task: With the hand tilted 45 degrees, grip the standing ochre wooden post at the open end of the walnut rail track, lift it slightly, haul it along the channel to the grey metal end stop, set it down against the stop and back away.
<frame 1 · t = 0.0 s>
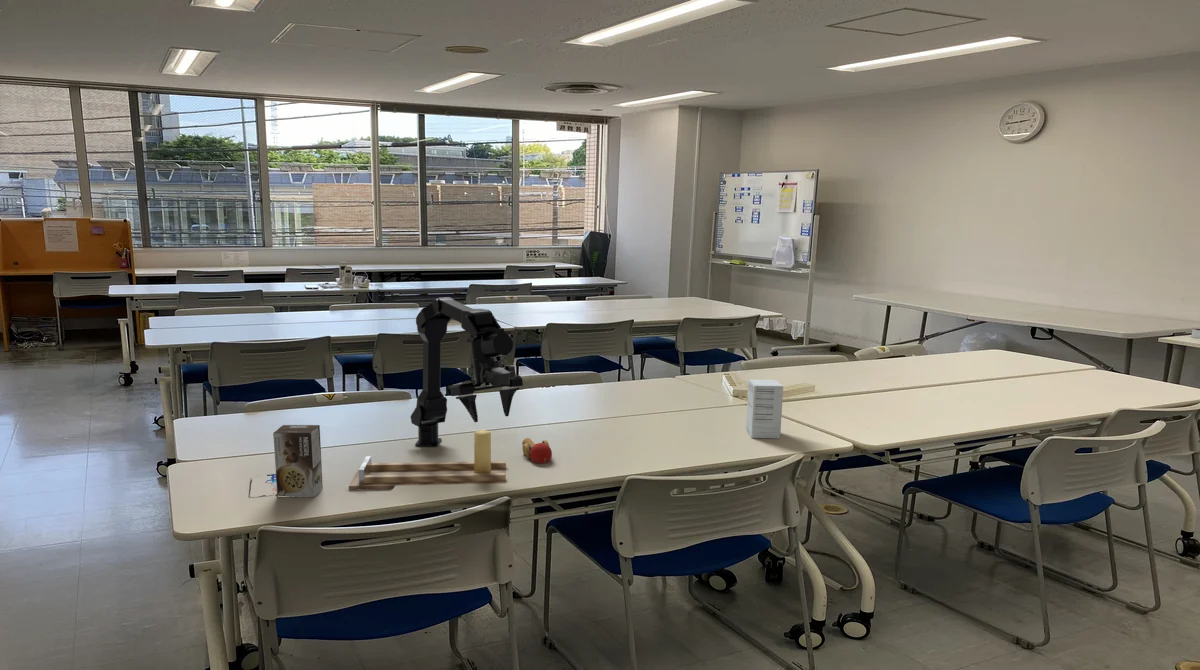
hand: (491, 419, 193), 15 cm above the table, tool pointing down, fingers open, 9 cm apart
track: (431, 478, 193), on the table
kendama: (534, 458, 212), on the table
smartphone: (266, 487, 186), on the table
coffee box: (300, 493, 182), on the table
stop: (365, 479, 191), resting on track
supplement box: (762, 434, 239), on the table
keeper: (482, 473, 194), point 1 cm above the table, touching track
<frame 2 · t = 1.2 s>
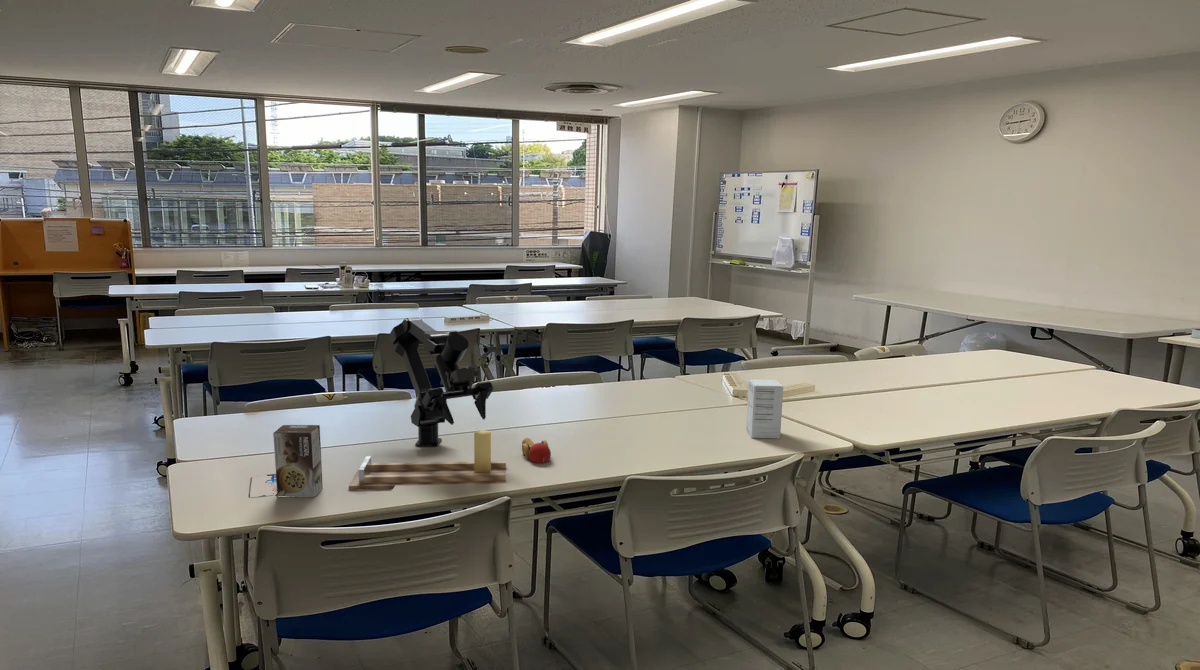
hand: (468, 421, 198), 13 cm above the table, tool tilted 45°, fingers open, 9 cm apart
nothing on the table moved.
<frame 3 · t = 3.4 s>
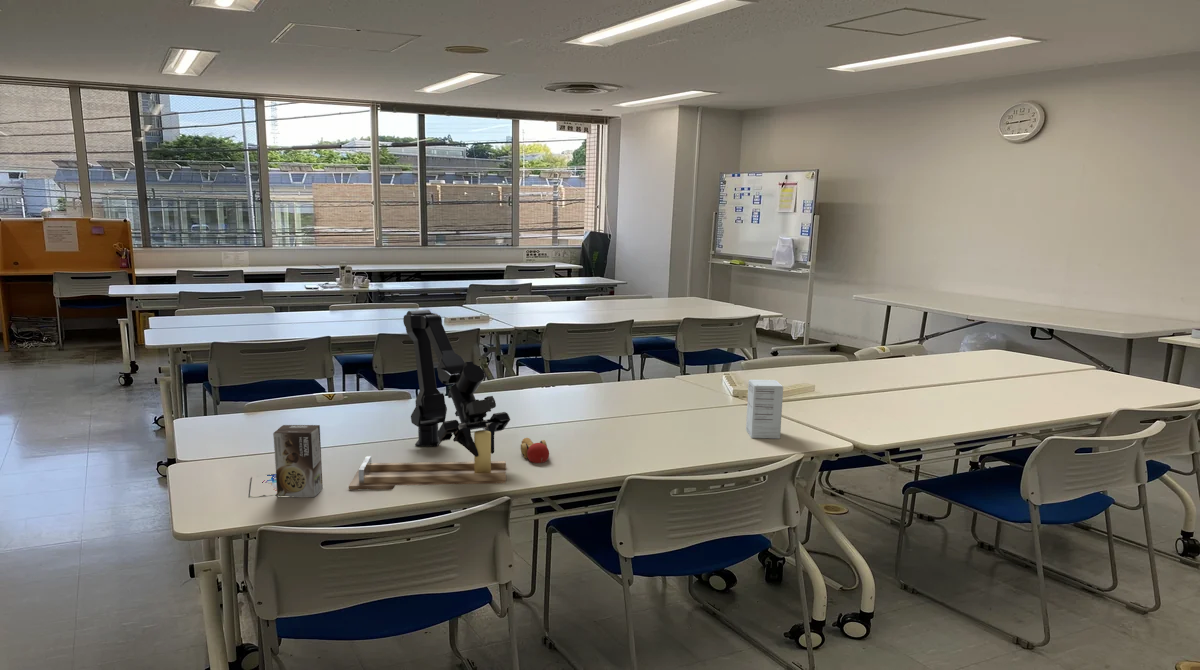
hand: (485, 454, 192), 7 cm above the table, tool tilted 45°, fingers closed on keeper, 4 cm apart
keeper: (482, 473, 194), point 1 cm above the table, touching gripper, track
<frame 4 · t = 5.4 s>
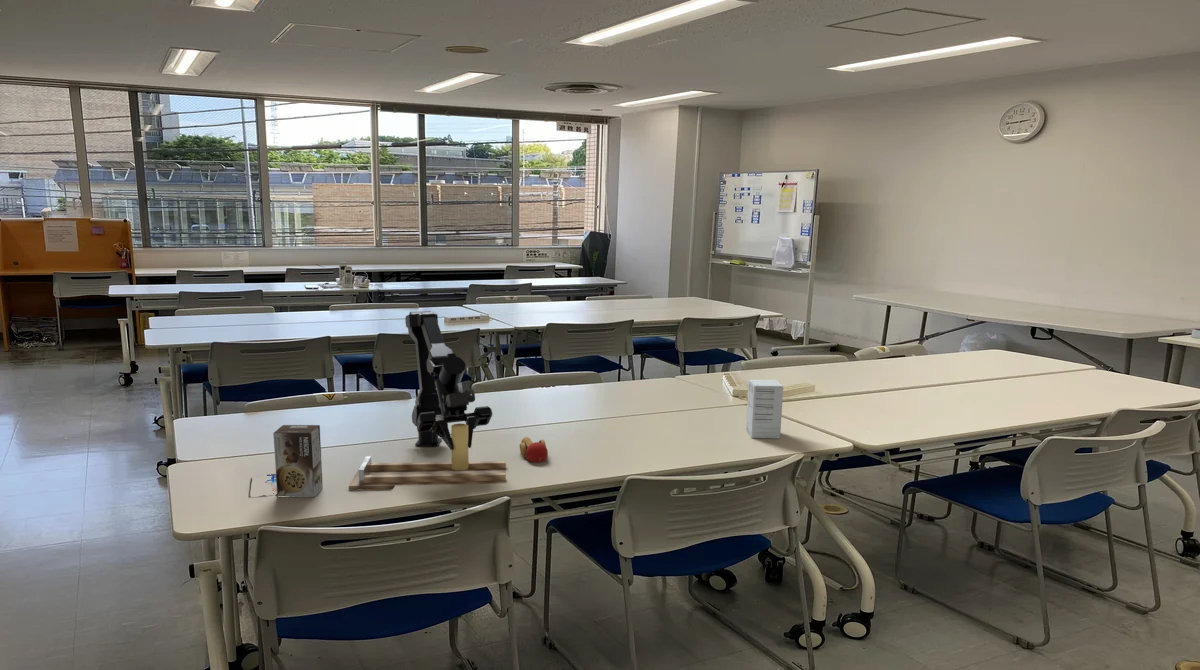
hand: (461, 448, 189), 9 cm above the table, tool tilted 45°, fingers closed on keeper, 4 cm apart
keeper: (460, 467, 192), point 3 cm above the table, touching gripper
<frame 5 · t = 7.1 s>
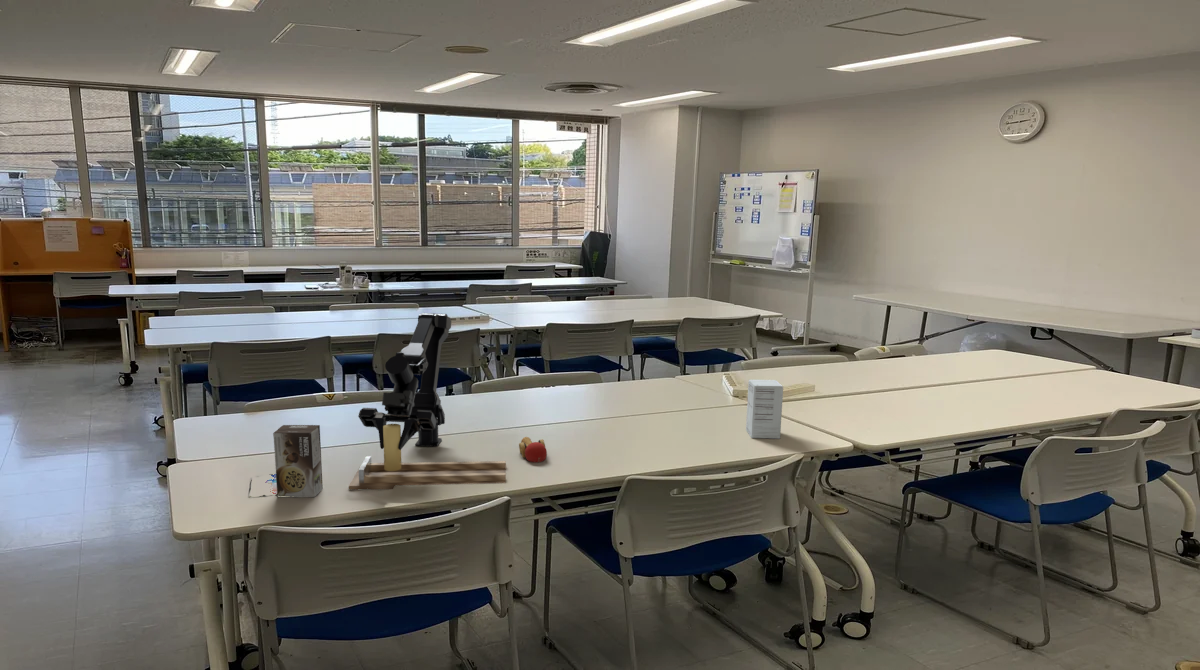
hand: (390, 448, 188), 9 cm above the table, tool tilted 45°, fingers closed on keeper, 4 cm apart
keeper: (392, 468, 190), point 3 cm above the table, touching gripper
when the fingers open (7 cm above the table, at t = 8.6 s): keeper stays where it is, resting on track.
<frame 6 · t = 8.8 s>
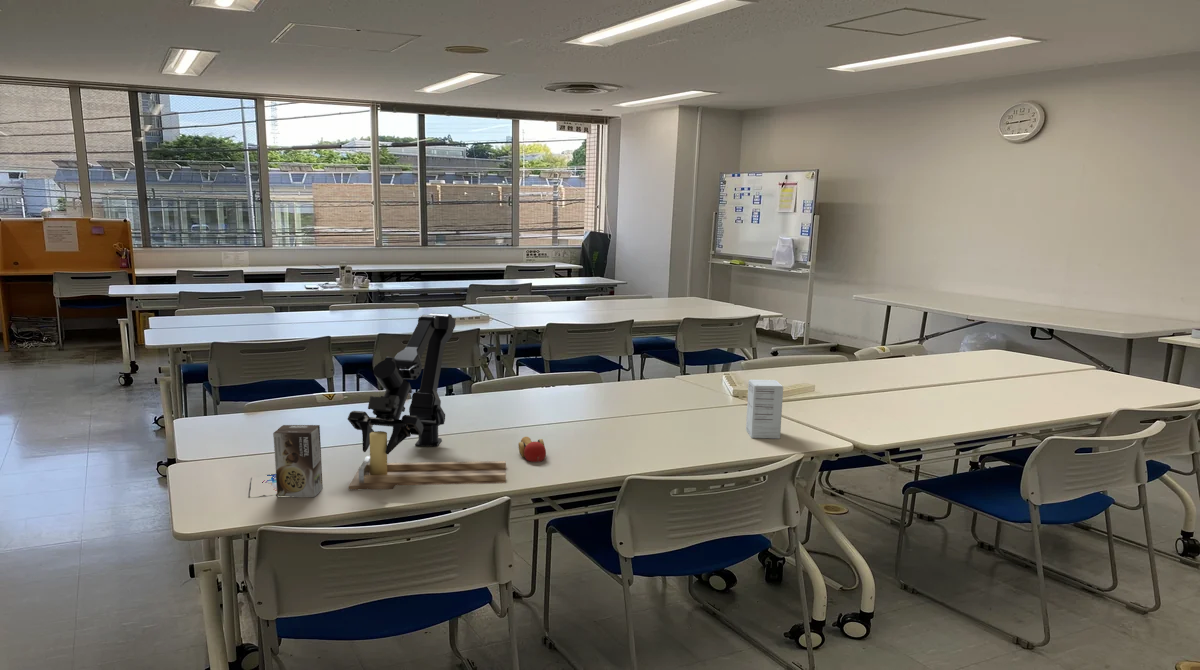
hand: (375, 452, 189), 8 cm above the table, tool tilted 45°, fingers open, 6 cm apart
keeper: (378, 475, 191), point 1 cm above the table, touching track
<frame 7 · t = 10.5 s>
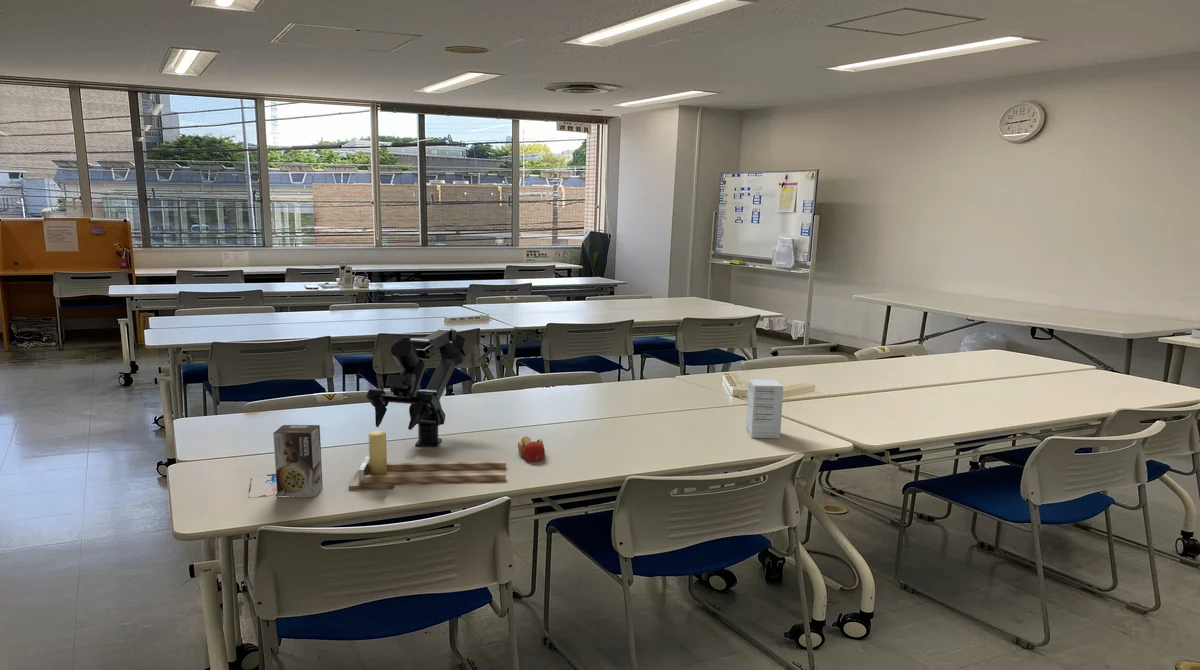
hand: (393, 427, 198), 11 cm above the table, tool tilted 45°, fingers open, 9 cm apart
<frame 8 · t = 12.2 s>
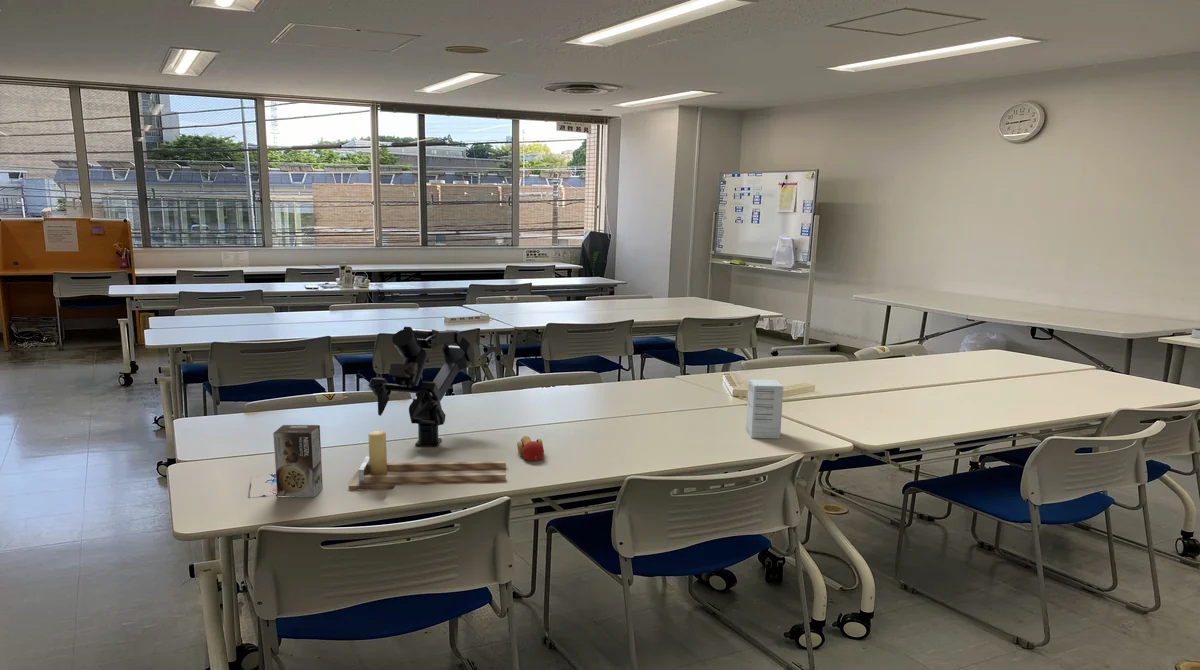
hand: (395, 416, 200), 14 cm above the table, tool tilted 45°, fingers open, 9 cm apart
at the end: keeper 3.3 cm from the stop (horizontally); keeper tilted 1°; the gripper is holding nothing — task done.
